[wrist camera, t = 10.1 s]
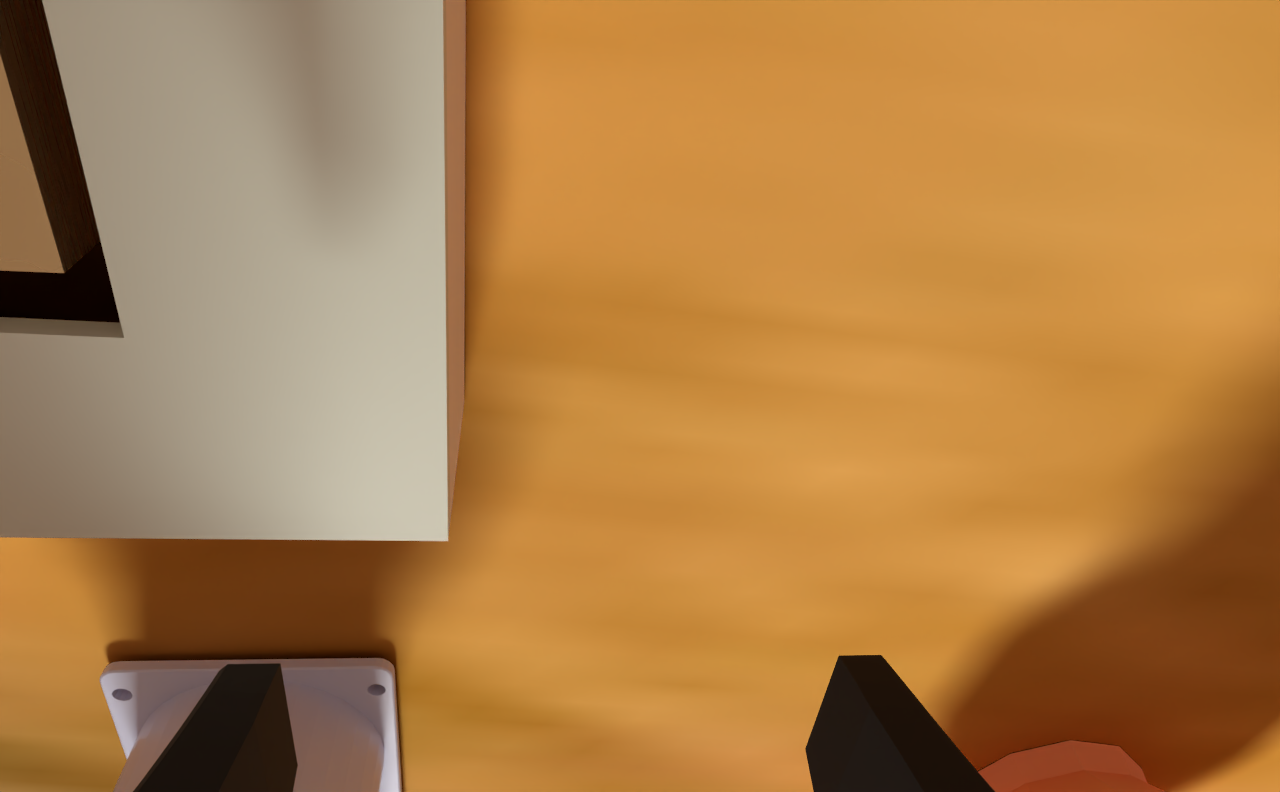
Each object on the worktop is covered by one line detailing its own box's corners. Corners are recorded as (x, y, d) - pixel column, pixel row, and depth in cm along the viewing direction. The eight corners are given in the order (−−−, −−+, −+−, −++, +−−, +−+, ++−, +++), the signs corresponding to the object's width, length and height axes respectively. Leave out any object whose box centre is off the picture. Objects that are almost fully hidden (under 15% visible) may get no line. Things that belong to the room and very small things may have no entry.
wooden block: (179, 170, 17) (64, 273, 13) (43, 162, 16) (-121, 265, 12) (122, -120, 14) (-49, -112, 10) (-42, -137, 14) (-289, -135, 10)
